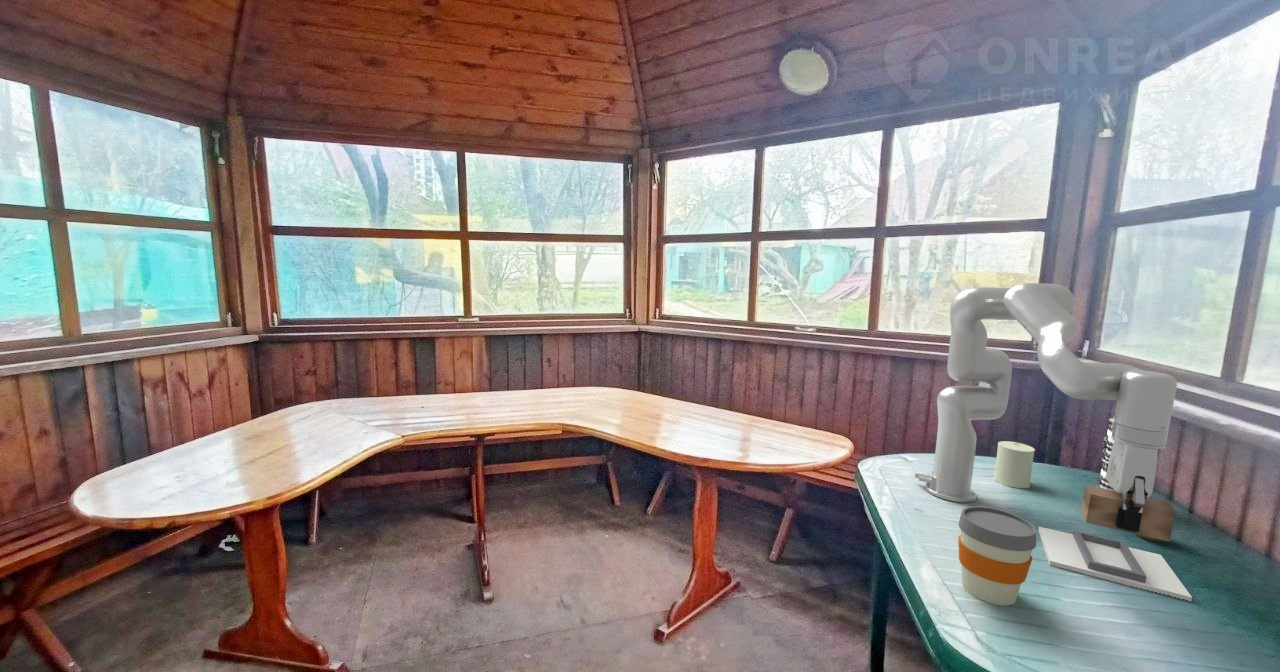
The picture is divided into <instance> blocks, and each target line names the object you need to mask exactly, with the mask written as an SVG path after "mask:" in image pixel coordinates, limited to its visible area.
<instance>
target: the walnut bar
mask: <svg viewBox="0 0 1280 672" xmlns="http://www.w3.org/2000/svg"><path fill="white" fill-rule="evenodd" d="M1084 488H1085V489H1084V493H1083V499H1082V506H1081V511H1080V512H1081V516H1082V517H1083V520H1084V521H1085V523H1086V524H1087V523H1088V524H1091V525H1096V526H1099V527H1104V528H1109V529H1113V530H1117V531H1123V532H1127V533H1131V534H1135V535H1138V534H1139V535H1143V536H1147V537H1152V538H1156V539H1161V540H1163V541H1165V542H1171V537H1172V532H1173V527H1174V521H1175V516H1176V512H1177V511H1176V510H1175V509H1174V508H1173V507H1172V506H1171V505H1170V503H1169V502H1168V501H1166V500H1162V499H1156V498H1151V497H1150V498H1148V499H1145V503H1144V505H1143V512H1142V517H1141V522H1140V528H1139V532H1133V531H1129V530H1124V529H1120V528H1117V526H1116V521H1117V515H1118V510H1119V507H1120V508H1121V505H1122V494H1123V493H1121V494H1118V493H1117V492H1115V491H1112V490H1107V489H1102V488H1097V486H1091V485H1086V484H1085V487H1084ZM1132 499H1133V498H1130V497H1128V500H1127V502H1128V501H1129V500H1132ZM1139 535H1138V536H1139Z"/></svg>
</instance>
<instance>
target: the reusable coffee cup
mask: <svg viewBox="0 0 1280 672" xmlns="http://www.w3.org/2000/svg"><path fill="white" fill-rule="evenodd" d="M958 527H959V529H960V530H959V531H960V534H959V535H958V537H957V538H958V560H959V563H960V564H961V585H962V587H963V588H964V590H966V592H967V593H969V594H970V595H971V596H973V597H975V598H976V599H977V600H981V601H983V602H986V603H988V604H989V603H990V604H992V605H997V606H1005V607H1006V606H1012V605H1013V604H1015V603H1016V601H1017V599H1018V596H1019V591H1020V589H1021V586H1022V584H1024V582H1025V581H1026V579H1027V576H1028V574H1029V571H1030V566H1031V564H1032V561H1033V557H1032V552H1033V550H1034V549H1035V548H1036V547H1037V529H1036V527H1035V525H1033V524H1032V523H1031V522H1029V521H1028V520H1026V519H1025V518H1023V517H1021V516H1018V515H1017V514H1015V513H1011V512H1009V511H1006V510H1002V509H999V508H995V507H988V506H980V505H979V506H978V505H975V506H974V505H972V506H966V507H964V508H963V509H962V510H961V513H960V516H959V521H958Z"/></svg>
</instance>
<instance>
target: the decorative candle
mask: <svg viewBox="0 0 1280 672" xmlns="http://www.w3.org/2000/svg"><path fill="white" fill-rule="evenodd" d="M1114 418H1115V415H1114V416H1113V417H1112V418H1108V421H1109V424H1108V427H1109V428H1108V429H1107V432H1106V436H1104V437H1103V438H1102V440H1103V441H1104V442H1103V443H1102V444H1101V445H1102V448H1103V449H1102V450H1101V452H1102V455H1101V456H1100V458H1101V460H1102V462H1103V463H1102V468H1101V469H1100V474H1099V475H1098V478H1099V479H1098V480H1097V483H1098V484H1097V485H1096V487H1097V488H1102V489H1107V490H1112V491H1113V488H1112V487H1111V485H1110V484H1109V482H1108V481H1107V479H1106V473H1107V468H1108V464H1109V460H1110V455H1111V451H1112V447H1113V444H1114V441H1115V440H1114V439H1112V438H1111V436H1112V429H1113V423H1114Z"/></svg>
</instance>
